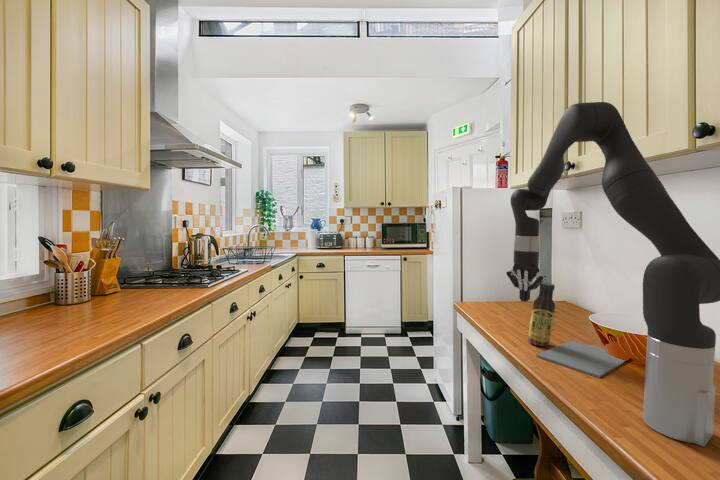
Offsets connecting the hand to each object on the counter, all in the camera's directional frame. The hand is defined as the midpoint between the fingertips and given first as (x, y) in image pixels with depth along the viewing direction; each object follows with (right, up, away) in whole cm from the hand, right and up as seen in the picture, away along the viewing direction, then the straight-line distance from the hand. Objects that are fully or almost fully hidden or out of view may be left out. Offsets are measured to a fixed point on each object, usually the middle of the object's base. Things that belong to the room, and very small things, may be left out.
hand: (524, 301), depth 112 cm
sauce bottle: (+3, -13, -4) cm, 14 cm away
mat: (+10, -14, -14) cm, 22 cm away
